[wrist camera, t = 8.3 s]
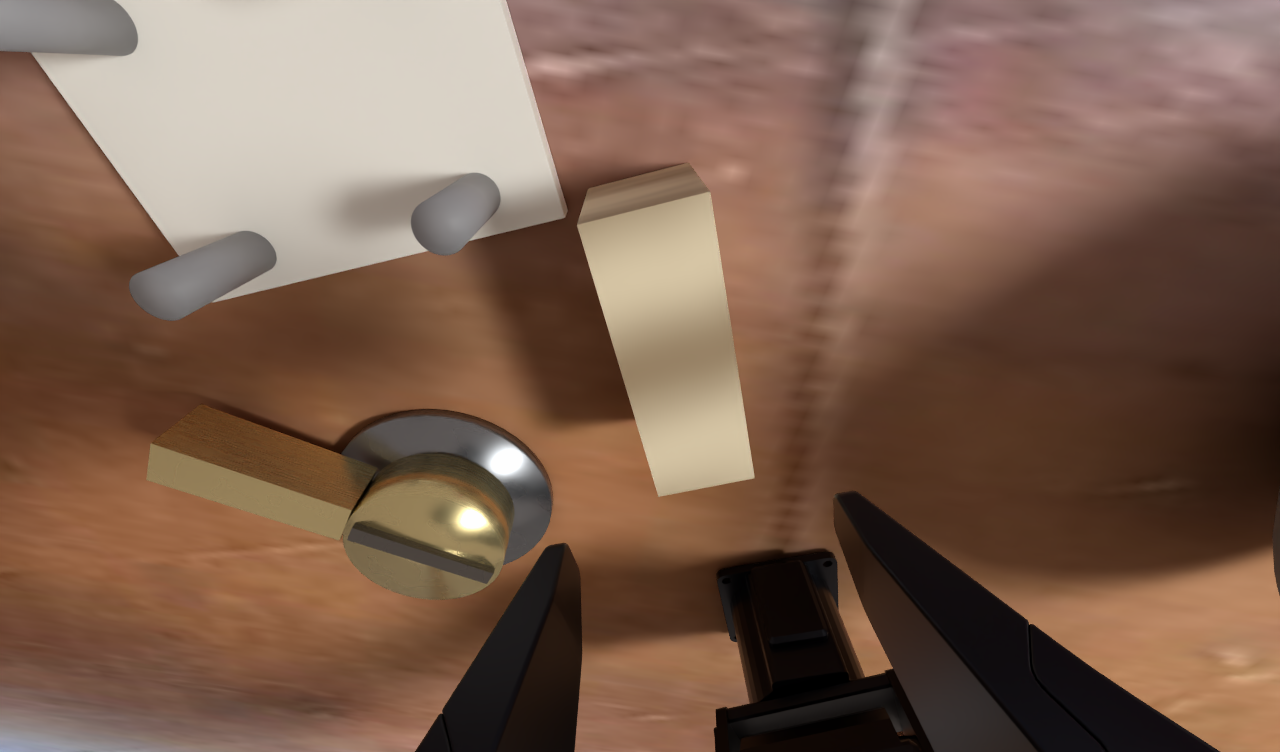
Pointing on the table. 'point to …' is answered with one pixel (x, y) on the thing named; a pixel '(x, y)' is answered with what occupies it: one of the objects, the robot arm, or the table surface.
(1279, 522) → the ceramic pot
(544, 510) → the base
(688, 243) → the beech bar
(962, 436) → the table surface
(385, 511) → the brass lever handle
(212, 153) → the peg rack
